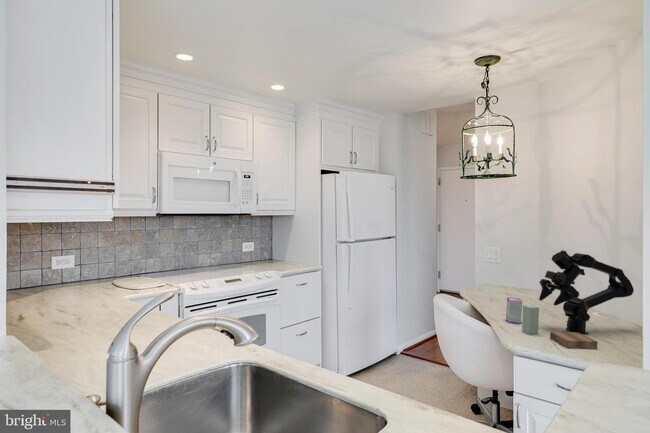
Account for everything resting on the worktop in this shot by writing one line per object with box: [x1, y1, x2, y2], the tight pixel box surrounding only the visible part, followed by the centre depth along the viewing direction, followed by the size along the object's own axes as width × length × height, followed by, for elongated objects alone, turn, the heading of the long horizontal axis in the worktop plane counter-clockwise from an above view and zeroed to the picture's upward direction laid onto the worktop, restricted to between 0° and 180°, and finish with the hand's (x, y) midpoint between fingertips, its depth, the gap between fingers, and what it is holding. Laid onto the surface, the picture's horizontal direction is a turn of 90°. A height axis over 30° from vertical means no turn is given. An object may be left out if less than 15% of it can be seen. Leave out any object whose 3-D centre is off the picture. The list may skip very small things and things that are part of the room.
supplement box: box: [505, 296, 523, 325], centre depth 197 cm, size 6×6×12 cm
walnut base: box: [549, 331, 598, 350], centre depth 167 cm, size 12×12×3 cm
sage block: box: [521, 304, 540, 336], centre depth 179 cm, size 4×4×12 cm
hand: (546, 302), depth 181 cm, fingers open, 9 cm apart
